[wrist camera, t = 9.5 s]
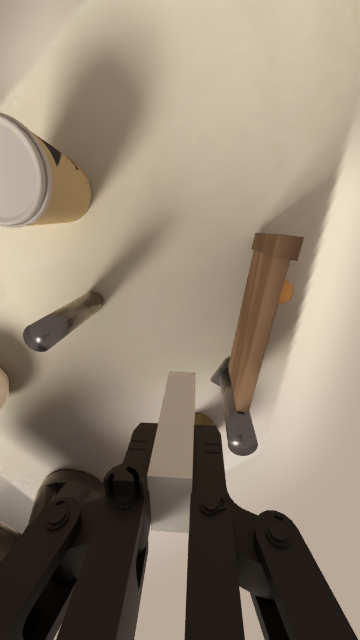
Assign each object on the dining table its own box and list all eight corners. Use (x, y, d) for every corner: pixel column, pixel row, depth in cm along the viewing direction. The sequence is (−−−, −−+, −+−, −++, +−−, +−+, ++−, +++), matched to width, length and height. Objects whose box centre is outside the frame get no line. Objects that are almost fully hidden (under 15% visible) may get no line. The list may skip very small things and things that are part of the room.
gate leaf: (226, 367, 39) (235, 416, 29) (255, 233, 32) (280, 234, 22) (238, 369, 39) (252, 418, 29) (270, 235, 32) (303, 237, 22)
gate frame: (233, 391, 42) (247, 465, 29) (79, 308, 39) (17, 348, 26) (248, 371, 40) (271, 440, 27) (90, 284, 37) (30, 313, 24)
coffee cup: (103, 162, 32) (49, 125, 21) (92, 236, 35) (40, 240, 24) (31, 140, 32) (-62, 91, 20) (27, 217, 35) (-56, 211, 24)
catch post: (269, 296, 36) (282, 308, 30) (252, 285, 36) (261, 296, 30) (282, 278, 35) (298, 287, 29) (264, 267, 35) (277, 274, 29)
